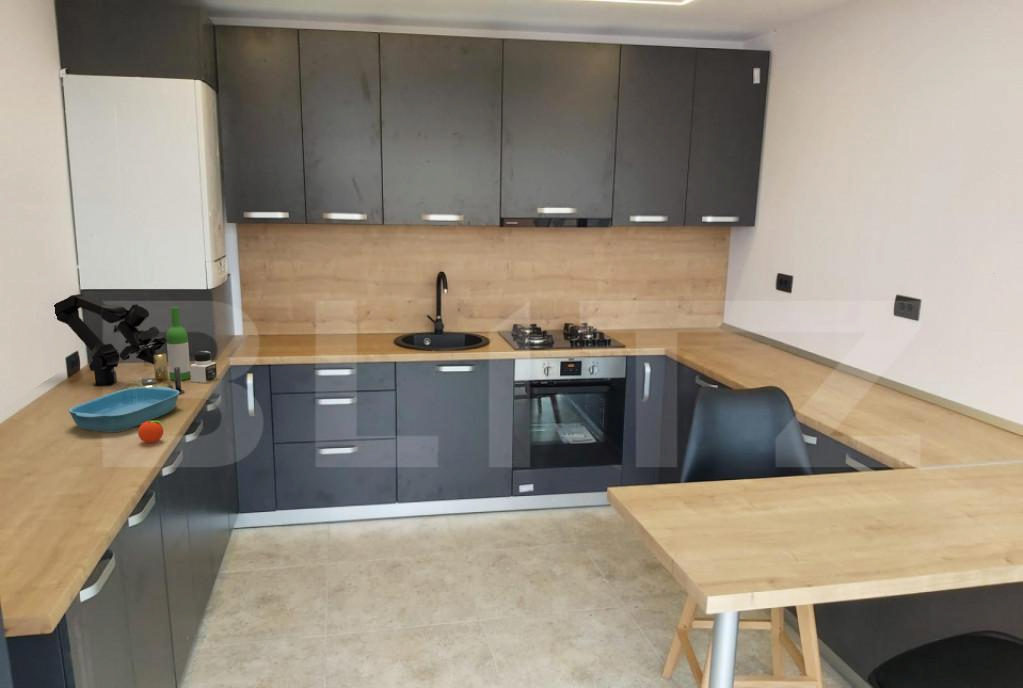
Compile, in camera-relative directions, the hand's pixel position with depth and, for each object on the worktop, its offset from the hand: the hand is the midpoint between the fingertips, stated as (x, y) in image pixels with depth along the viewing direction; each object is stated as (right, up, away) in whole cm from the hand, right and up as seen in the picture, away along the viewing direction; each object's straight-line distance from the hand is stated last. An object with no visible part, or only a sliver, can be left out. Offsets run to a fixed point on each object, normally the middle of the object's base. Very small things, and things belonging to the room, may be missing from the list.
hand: (157, 365), depth 263 cm
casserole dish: (+6, -18, -30) cm, 36 cm away
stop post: (+8, -11, 0) cm, 14 cm away
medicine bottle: (+10, -7, +18) cm, 22 cm away
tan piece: (0, -8, -5) cm, 10 cm away
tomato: (+25, -23, -51) cm, 61 cm away
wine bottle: (-1, -6, +19) cm, 20 cm away
